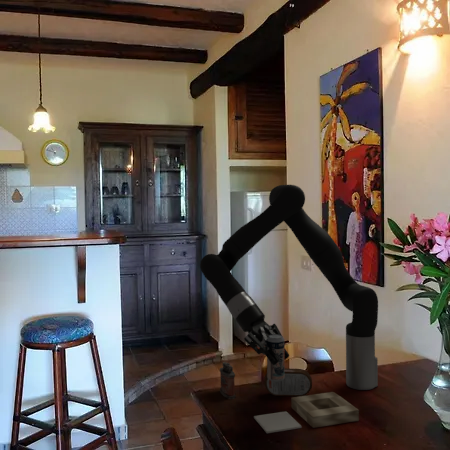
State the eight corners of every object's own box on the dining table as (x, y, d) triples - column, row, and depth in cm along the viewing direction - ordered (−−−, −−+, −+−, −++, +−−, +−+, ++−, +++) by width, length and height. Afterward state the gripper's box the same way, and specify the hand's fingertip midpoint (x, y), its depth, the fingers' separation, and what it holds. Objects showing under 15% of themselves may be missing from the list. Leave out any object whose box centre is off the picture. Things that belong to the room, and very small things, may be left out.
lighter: (217, 390, 159) (217, 360, 159) (227, 389, 161) (226, 359, 160) (227, 399, 152) (227, 368, 152) (237, 397, 153) (237, 366, 153)
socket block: (333, 401, 149) (333, 391, 149) (358, 420, 136) (358, 409, 136) (291, 407, 145) (291, 397, 145) (313, 427, 132) (313, 416, 132)
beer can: (273, 383, 132) (273, 339, 131) (263, 378, 136) (263, 335, 136) (288, 380, 134) (287, 337, 133) (278, 375, 138) (278, 333, 138)
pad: (286, 413, 142) (286, 411, 142) (301, 427, 132) (301, 426, 132) (253, 417, 139) (253, 416, 139) (266, 433, 129) (266, 431, 129)
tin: (312, 394, 156) (311, 368, 155) (312, 398, 152) (312, 371, 152) (264, 393, 157) (264, 367, 157) (264, 396, 154) (264, 370, 154)
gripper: (238, 307, 133) (276, 359, 126) (266, 299, 144) (303, 346, 138) (222, 324, 136) (259, 375, 130) (251, 314, 148) (286, 361, 141)
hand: (281, 360), depth 134 cm, fingers closed on beer can, 4 cm apart
